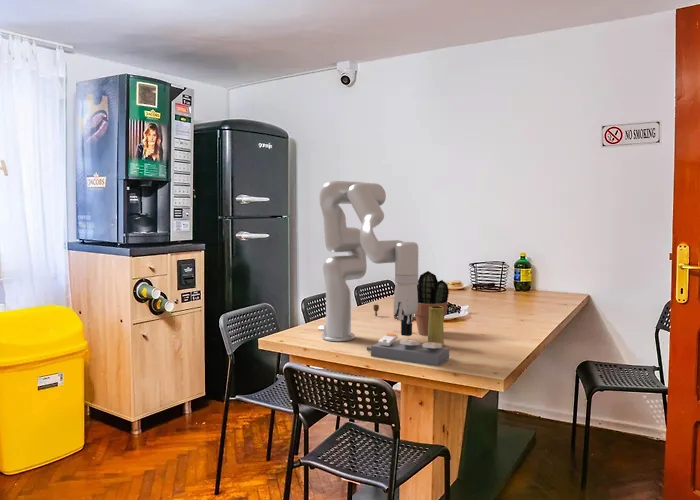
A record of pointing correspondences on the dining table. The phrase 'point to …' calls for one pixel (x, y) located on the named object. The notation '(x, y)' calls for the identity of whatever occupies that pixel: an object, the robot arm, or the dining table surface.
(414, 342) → the rocker mid
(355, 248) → the robot arm
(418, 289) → the potted plant
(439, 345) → the rocker right
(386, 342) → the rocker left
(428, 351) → the power strip
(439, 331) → the vase
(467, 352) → the dining table surface
